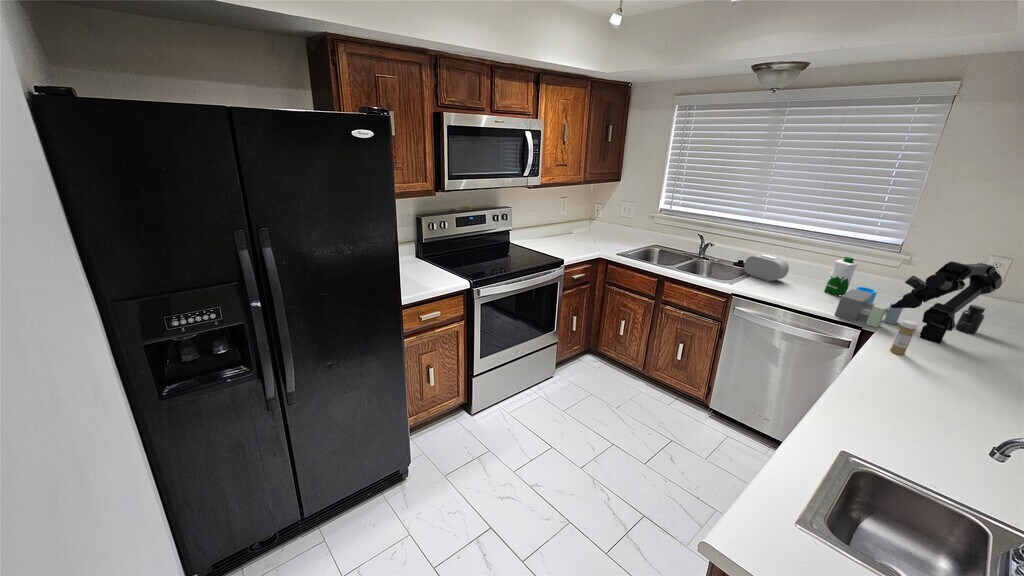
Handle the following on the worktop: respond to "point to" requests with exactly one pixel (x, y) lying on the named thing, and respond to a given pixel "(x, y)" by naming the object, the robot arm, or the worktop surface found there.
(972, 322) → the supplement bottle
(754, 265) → the grey rounded oblong block
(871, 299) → the mug
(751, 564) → the worktop surface
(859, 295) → the grey curved block
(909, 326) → the sprinkles bottle
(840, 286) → the milk carton
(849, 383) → the worktop surface
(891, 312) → the grey key
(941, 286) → the robot arm
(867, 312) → the green key
